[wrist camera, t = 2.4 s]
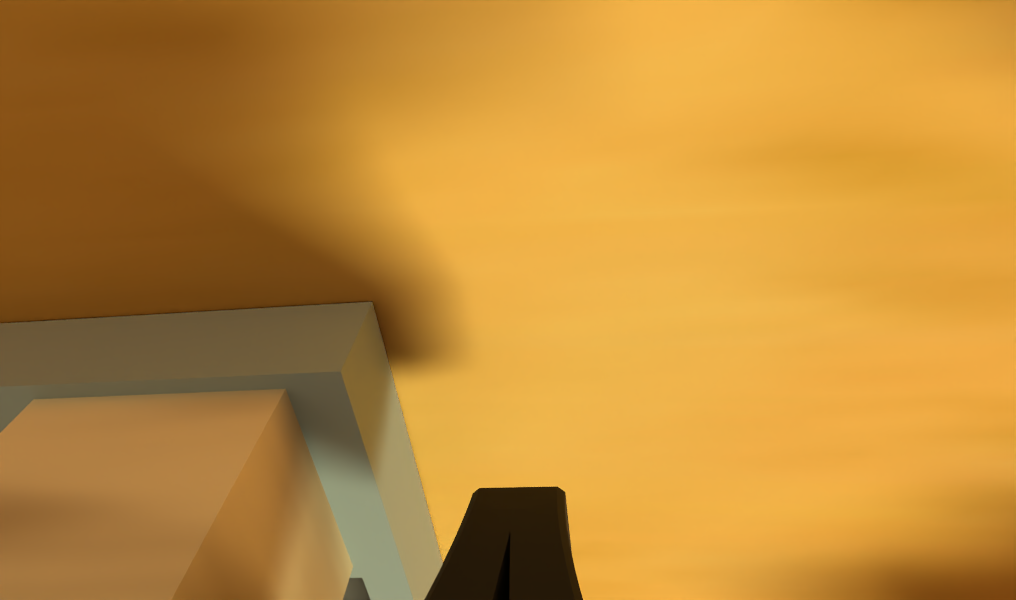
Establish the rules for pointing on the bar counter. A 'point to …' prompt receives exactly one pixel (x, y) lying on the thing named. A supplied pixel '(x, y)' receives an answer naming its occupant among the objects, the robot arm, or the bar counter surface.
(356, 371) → the board
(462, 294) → the bar counter surface
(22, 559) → the beech block
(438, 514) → the bar counter surface
